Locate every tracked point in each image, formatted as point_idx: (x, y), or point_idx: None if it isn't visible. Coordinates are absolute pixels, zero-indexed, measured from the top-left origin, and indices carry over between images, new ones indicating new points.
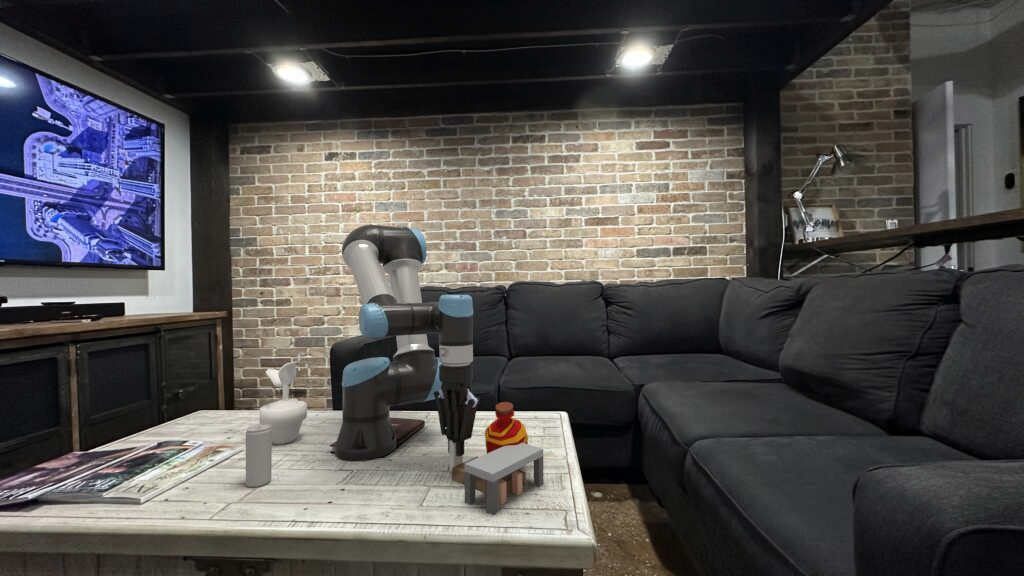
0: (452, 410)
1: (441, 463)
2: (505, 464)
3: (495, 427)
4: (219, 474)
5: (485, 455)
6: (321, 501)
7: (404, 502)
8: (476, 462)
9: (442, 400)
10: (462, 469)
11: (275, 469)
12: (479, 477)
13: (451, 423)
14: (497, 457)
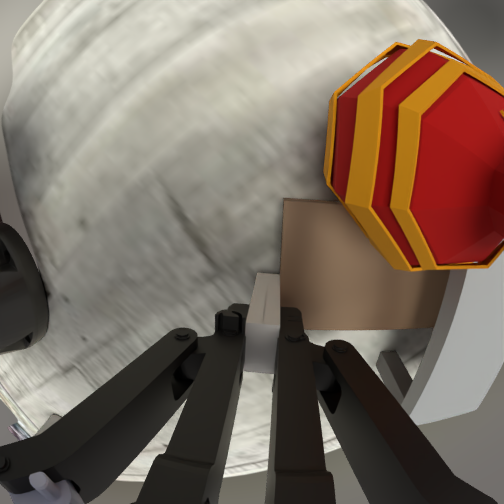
0: (218, 482)
1: (161, 241)
2: (496, 363)
3: (464, 248)
4: (30, 412)
5: (440, 364)
6: (155, 446)
7: (264, 418)
8: (430, 406)
9: (86, 486)
10: (315, 320)
11: (34, 392)
12: (392, 328)
13: (232, 421)
14: (475, 349)
